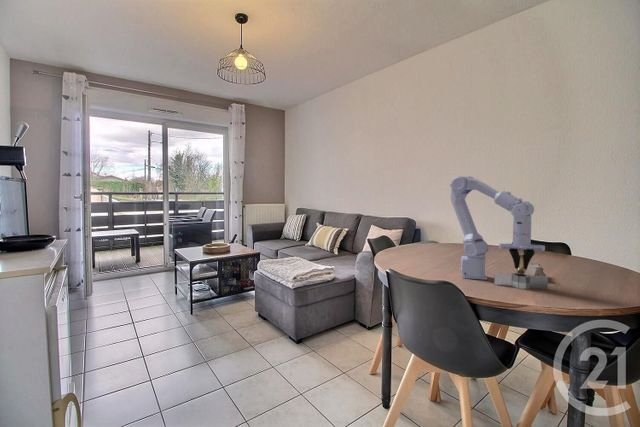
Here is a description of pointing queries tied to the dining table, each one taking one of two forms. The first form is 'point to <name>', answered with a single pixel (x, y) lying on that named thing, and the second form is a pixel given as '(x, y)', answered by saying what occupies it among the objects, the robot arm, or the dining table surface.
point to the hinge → (521, 280)
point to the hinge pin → (521, 264)
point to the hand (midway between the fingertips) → (520, 268)
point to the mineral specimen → (534, 269)
